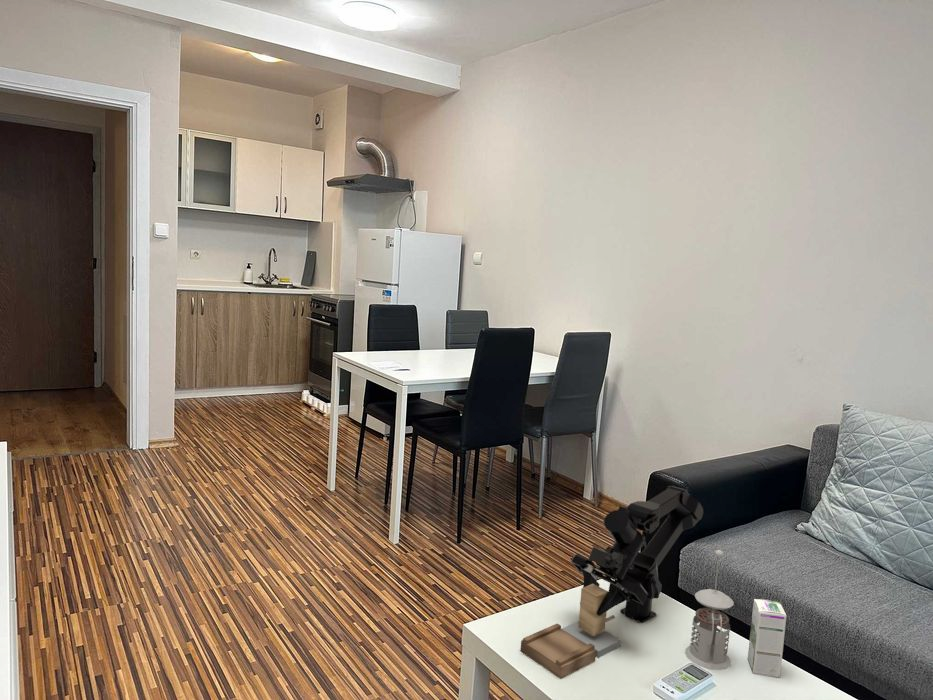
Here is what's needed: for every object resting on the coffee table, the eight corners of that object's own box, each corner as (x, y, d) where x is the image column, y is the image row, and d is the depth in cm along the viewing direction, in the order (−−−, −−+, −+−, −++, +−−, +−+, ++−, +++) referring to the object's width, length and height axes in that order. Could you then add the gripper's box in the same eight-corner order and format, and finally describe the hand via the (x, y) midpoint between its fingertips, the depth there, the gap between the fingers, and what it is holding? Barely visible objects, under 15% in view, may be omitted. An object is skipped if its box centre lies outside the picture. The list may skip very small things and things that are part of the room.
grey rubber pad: (583, 624, 161) (583, 618, 160) (620, 646, 152) (621, 639, 152) (560, 634, 155) (561, 628, 155) (597, 657, 147) (598, 651, 147)
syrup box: (780, 678, 143) (788, 614, 142) (751, 673, 145) (759, 610, 143) (774, 663, 149) (781, 601, 147) (745, 658, 150) (753, 597, 148)
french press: (727, 648, 154) (739, 544, 151) (736, 678, 143) (749, 566, 139) (682, 641, 156) (693, 538, 153) (688, 670, 144) (700, 559, 141)
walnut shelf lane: (554, 635, 155) (555, 622, 154) (595, 661, 146) (596, 646, 145) (520, 651, 148) (521, 637, 147) (560, 678, 139) (562, 663, 138)
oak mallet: (606, 614, 160) (609, 576, 159) (621, 622, 157) (624, 584, 156) (578, 627, 154) (581, 588, 153) (593, 636, 151) (596, 596, 149)
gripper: (578, 521, 160) (543, 576, 155) (644, 549, 146) (608, 611, 141) (597, 544, 166) (564, 599, 161) (662, 574, 152) (628, 634, 147)
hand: (589, 610), depth 152 cm, fingers closed on oak mallet, 4 cm apart
